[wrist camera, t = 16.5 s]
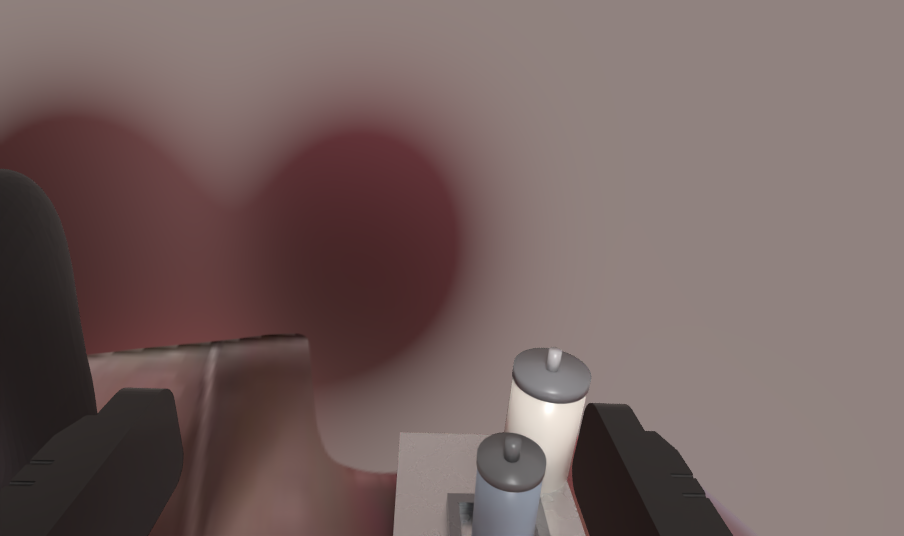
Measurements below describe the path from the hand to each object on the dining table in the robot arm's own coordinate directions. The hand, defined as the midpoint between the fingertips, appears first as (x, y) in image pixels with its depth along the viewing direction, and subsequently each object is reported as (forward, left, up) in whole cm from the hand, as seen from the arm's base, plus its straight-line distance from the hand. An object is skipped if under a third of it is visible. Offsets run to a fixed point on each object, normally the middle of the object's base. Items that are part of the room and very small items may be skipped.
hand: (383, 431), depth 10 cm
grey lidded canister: (+9, +20, -31) cm, 38 cm away
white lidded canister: (+14, +30, -31) cm, 46 cm away
